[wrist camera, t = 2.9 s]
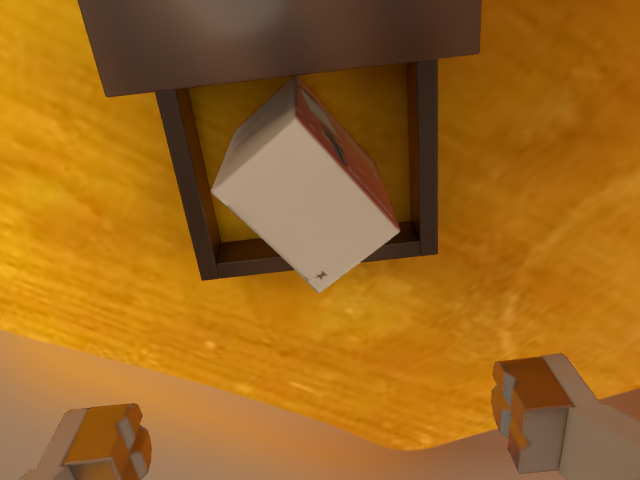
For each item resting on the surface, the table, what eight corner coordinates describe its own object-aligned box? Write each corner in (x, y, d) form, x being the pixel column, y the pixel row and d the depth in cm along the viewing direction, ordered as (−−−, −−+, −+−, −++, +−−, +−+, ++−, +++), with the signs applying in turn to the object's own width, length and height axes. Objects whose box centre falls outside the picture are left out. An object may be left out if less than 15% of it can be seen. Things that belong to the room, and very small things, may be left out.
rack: (422, -261, 26) (495, -387, 16) (428, 234, 38) (471, 321, 29) (95, -220, 26) (-18, -322, 16) (208, 258, 38) (180, 354, 29)
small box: (376, 162, 35) (406, 234, 26) (313, 214, 37) (320, 298, 28) (296, 70, 32) (296, 113, 23) (231, 129, 34) (207, 193, 25)
